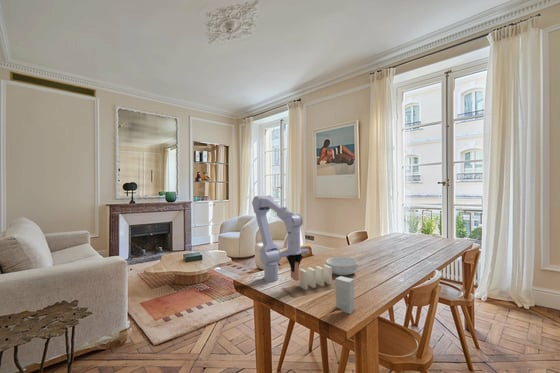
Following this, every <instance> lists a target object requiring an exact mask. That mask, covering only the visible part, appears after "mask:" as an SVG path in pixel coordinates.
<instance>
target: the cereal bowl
mask: <svg viewBox="0 0 560 373" xmlns="http://www.w3.org/2000/svg"><path fill="white" fill-rule="evenodd" d="M358 262H359V261H358V260H357V259H355V258H352V257H344V256H336V257H329V258H327V259H326V263H325V265H328V266H330V267H332V275H333V274H334V275H337V276H349V275H352V274H354V273H355V272H356V271H357V270H358V268H359V266H358V264H359V263H358Z"/></svg>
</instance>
